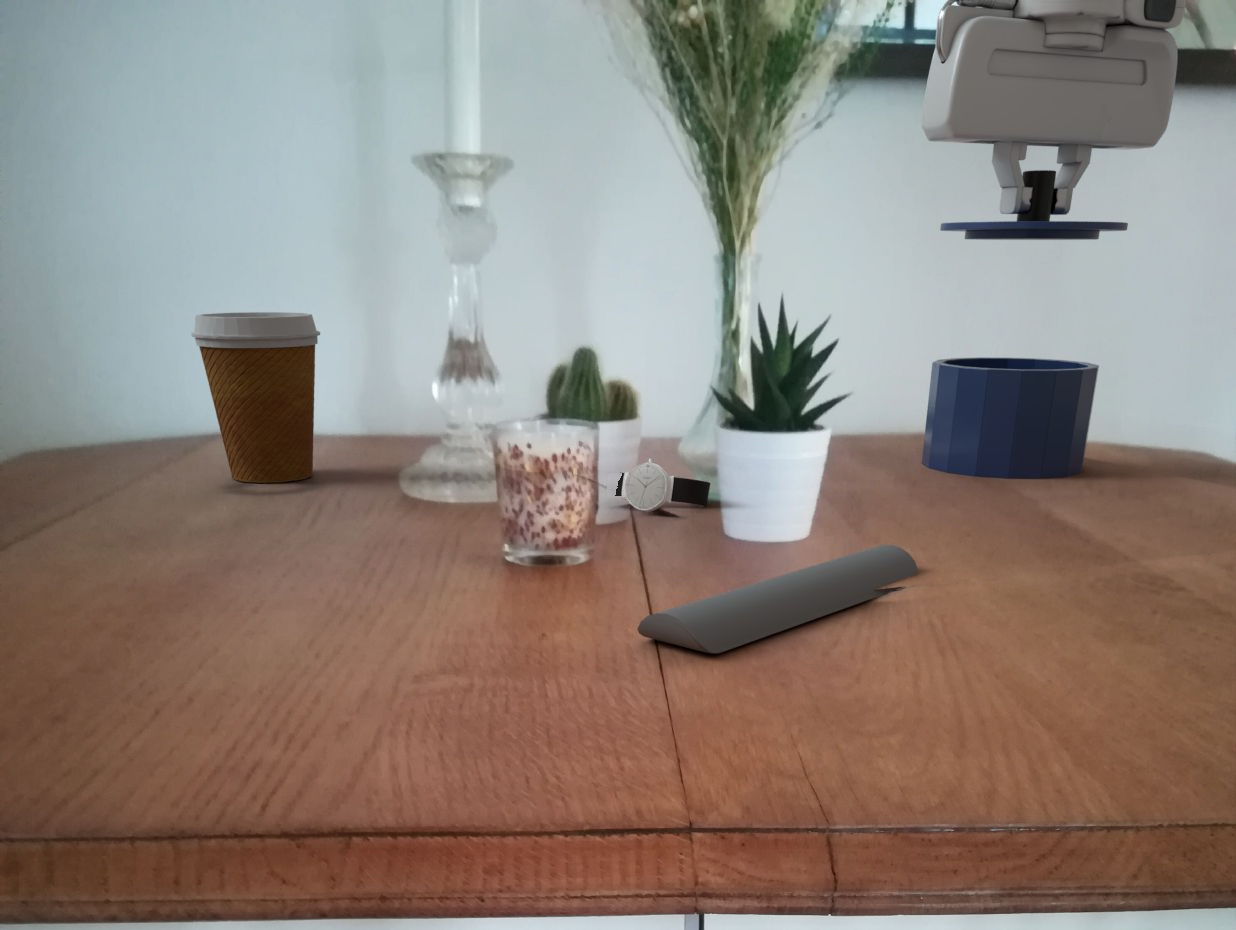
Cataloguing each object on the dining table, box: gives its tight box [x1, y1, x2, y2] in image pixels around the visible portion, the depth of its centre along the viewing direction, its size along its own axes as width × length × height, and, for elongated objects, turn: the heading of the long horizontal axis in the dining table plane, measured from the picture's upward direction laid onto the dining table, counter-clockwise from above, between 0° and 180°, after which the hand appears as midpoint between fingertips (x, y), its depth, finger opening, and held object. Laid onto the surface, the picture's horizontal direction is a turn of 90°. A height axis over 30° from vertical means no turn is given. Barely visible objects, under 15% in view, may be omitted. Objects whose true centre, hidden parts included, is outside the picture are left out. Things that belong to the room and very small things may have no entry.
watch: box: [615, 458, 711, 513], centre depth 85 cm, size 8×5×4 cm, turn 63°
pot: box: [921, 356, 1100, 480], centre depth 99 cm, size 13×13×8 cm
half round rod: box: [637, 544, 919, 654], centre depth 61 cm, size 4×20×2 cm, turn 138°
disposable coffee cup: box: [190, 311, 321, 484], centre depth 95 cm, size 10×10×12 cm
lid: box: [939, 169, 1129, 241], centre depth 92 cm, size 14×14×5 cm
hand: (1034, 214), depth 92 cm, fingers closed on lid, 2 cm apart
